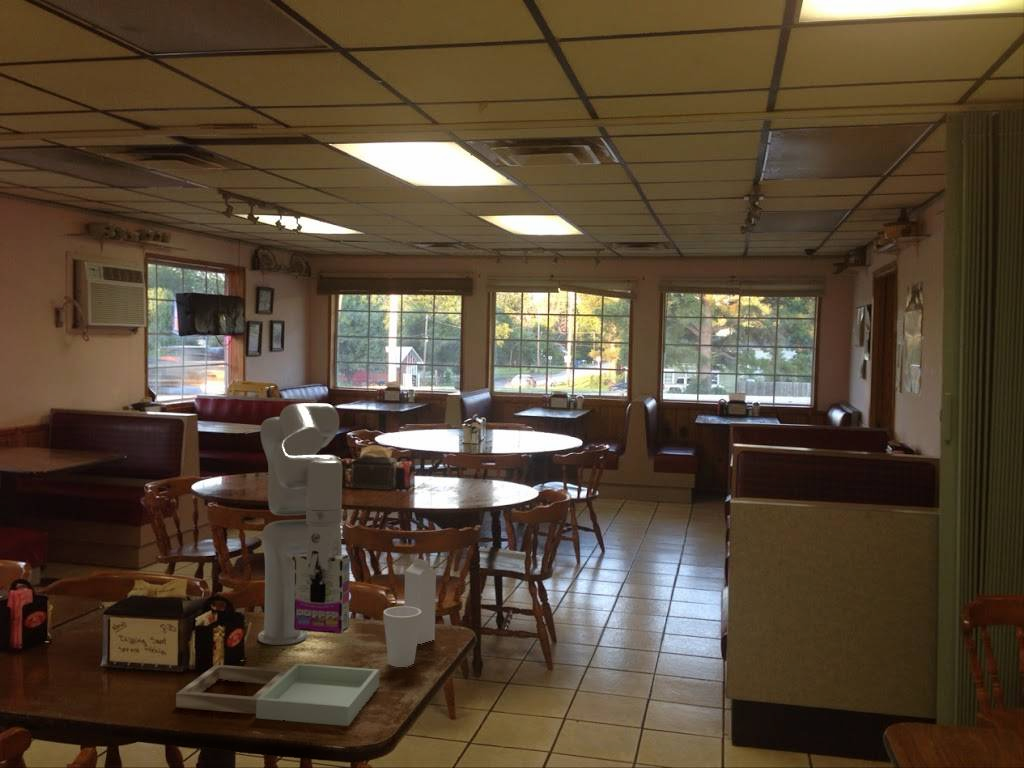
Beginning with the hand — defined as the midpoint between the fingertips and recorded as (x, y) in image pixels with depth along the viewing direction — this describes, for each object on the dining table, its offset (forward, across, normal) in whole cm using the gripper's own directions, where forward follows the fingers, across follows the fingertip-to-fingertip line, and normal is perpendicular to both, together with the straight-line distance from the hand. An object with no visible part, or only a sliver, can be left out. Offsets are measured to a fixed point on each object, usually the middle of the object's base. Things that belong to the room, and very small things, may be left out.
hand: (322, 597), depth 193 cm
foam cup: (+23, +27, -11) cm, 37 cm away
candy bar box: (+7, 0, 0) cm, 7 cm away
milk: (+23, +45, -11) cm, 52 cm away
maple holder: (+23, 0, +20) cm, 31 cm away
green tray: (+23, 0, 0) cm, 23 cm away
